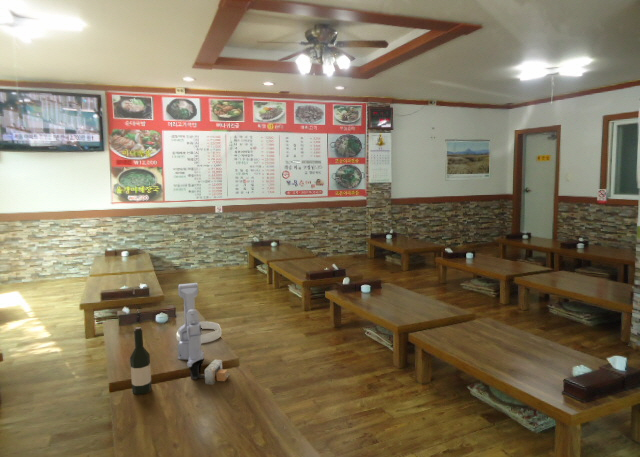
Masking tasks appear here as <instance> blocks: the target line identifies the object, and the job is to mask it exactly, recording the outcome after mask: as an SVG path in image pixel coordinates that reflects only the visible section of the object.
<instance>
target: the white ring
mask: <svg viewBox="0 0 640 457" xmlns="http://www.w3.org/2000/svg"><path fill="white" fill-rule="evenodd" d="M200 324H201V328H202V330H204V329H206V330H214V331H211V332H208V333H203V334H202V333H201V334H200V335H201V344H207V343H210V342H214V341H216V340H218V339H219V338H220V337H221V336H222V333H223V332H222V328H221V326H220V324H219V323H218V322H216V321H215V322H214V321H207V320H205V321H200ZM176 341H177V342H178V343H179V342H180V327H179V328H178V329H177V332H176Z"/></svg>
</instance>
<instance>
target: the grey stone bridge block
mask: <svg viewBox="0 0 640 457" xmlns="http://www.w3.org/2000/svg"><path fill="white" fill-rule="evenodd" d="M219 369H223V360H222V359H213V361H212V362H211V363H210V364H209V365H208V366H207V367H206V368H205V369H204V375H205V378H204V382H205V383H204V385H215V383H216V378H215V375H216V373H217V372H218V370H219Z"/></svg>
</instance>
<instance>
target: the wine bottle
mask: <svg viewBox="0 0 640 457" xmlns="http://www.w3.org/2000/svg"><path fill="white" fill-rule="evenodd" d="M133 335H134V350H133V351H132V353H131V355H130V357H129V362H130V363H129V364H130V377H131V392H133V393H132V394H134V395H135V394H136V396H138V395H141V396H142V395H144V394H147V393H150V392H151V391H152V387H153V386H152V376H151V375H152V370H151V356H150V353H149V352H148V351H147V349H146V348H145V347H144V338H143V328H142V327H141V326H137V327H134V330H133Z"/></svg>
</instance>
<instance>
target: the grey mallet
mask: <svg viewBox="0 0 640 457" xmlns="http://www.w3.org/2000/svg"><path fill="white" fill-rule="evenodd" d="M189 370H190V369H189ZM189 372H190V379H191V380H197V379H198V378H204V379H205V374H201V373H200V374H199V367H198V375H197V377H193V376H192V373H191V370H190V371H189ZM229 376H230V373H228V369H225V368H224V369H223V368H222V369H219V370H218V372H217V373H216V375H215V379H216V381H217V382H218V381H219V382H225V381H226V380H227V379H228V378H229Z"/></svg>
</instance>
